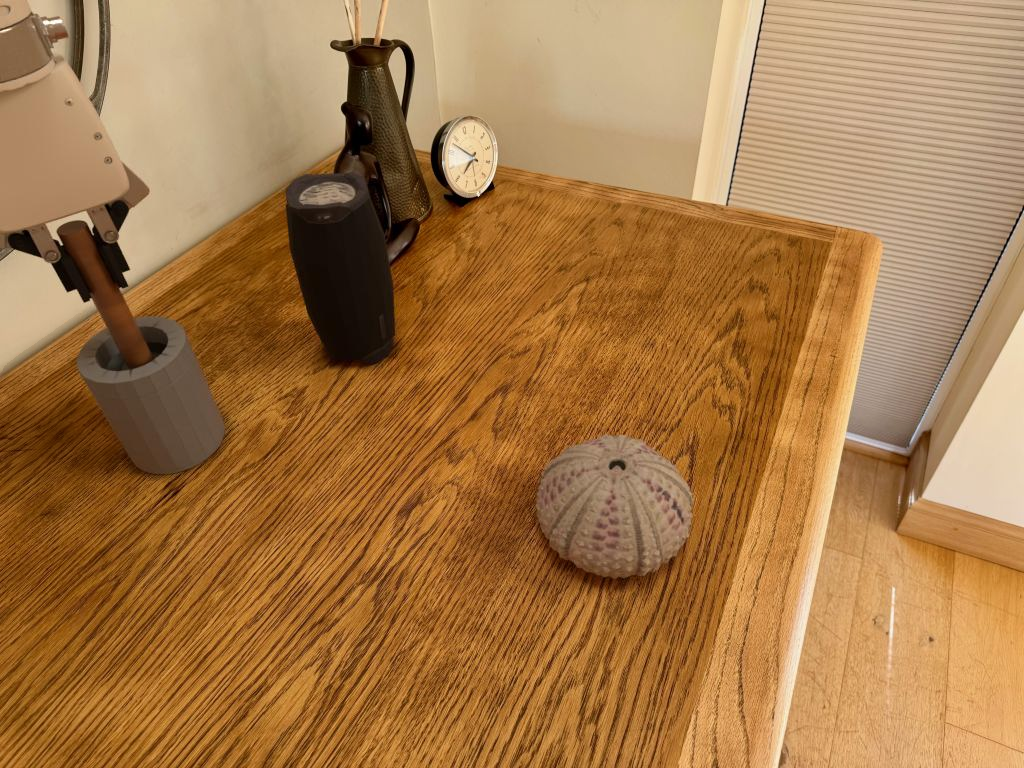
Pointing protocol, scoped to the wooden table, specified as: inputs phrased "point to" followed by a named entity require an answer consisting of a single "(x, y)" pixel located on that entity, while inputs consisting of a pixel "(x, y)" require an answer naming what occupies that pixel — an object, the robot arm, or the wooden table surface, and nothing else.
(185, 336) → the hollow cylinder
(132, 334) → the brown pestle
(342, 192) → the portable speaker
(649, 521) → the sea urchin shell
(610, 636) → the wooden table surface
